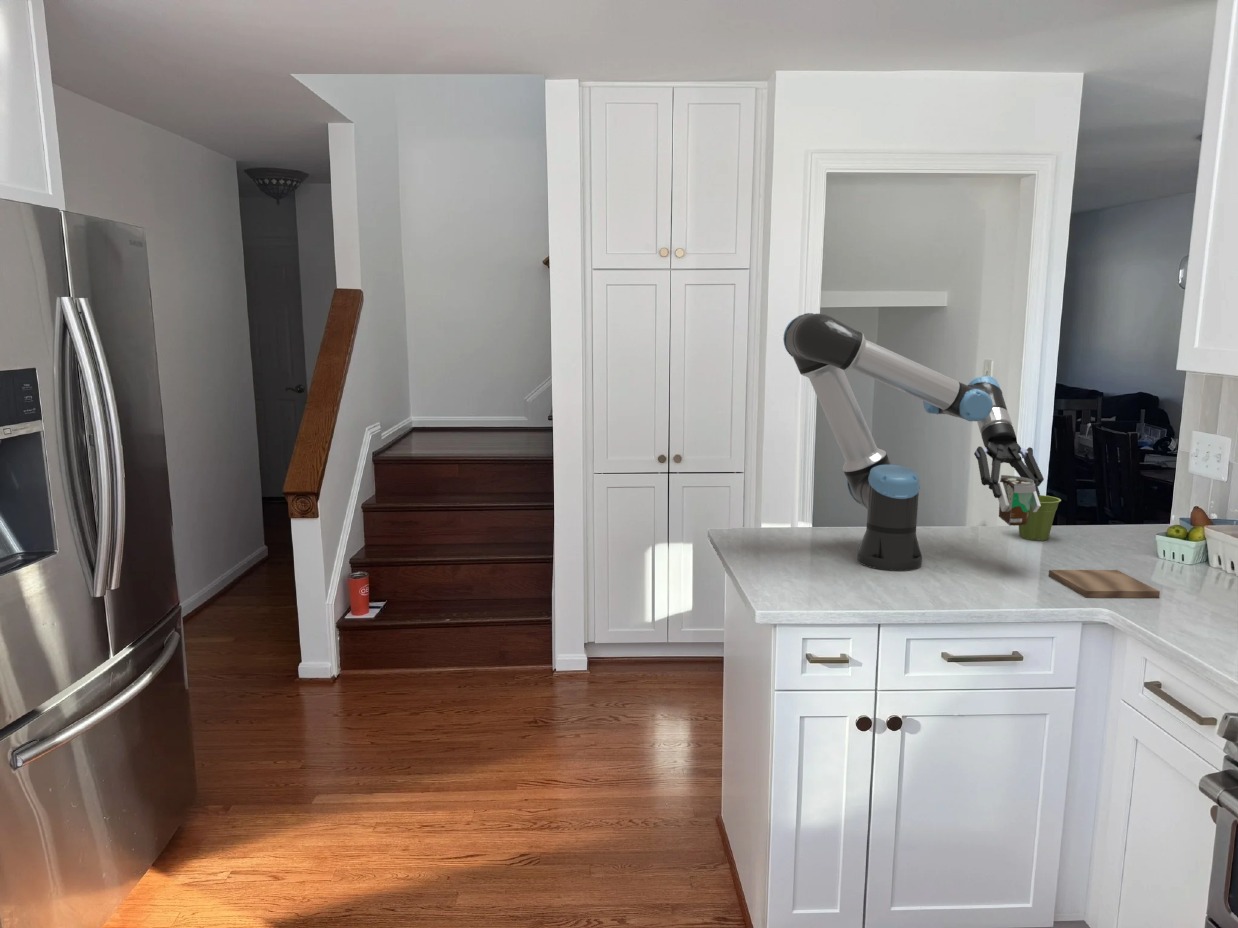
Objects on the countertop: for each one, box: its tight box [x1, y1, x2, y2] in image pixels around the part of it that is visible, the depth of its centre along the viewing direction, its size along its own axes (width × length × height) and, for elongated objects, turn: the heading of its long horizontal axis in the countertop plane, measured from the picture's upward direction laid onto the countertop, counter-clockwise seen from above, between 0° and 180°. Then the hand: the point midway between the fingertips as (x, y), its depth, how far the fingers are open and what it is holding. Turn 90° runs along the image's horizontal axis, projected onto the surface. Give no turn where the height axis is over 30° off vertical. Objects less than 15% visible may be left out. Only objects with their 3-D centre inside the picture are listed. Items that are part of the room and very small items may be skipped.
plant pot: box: [1018, 494, 1062, 541], centre depth 236 cm, size 12×12×11 cm
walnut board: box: [1048, 569, 1161, 599], centre depth 194 cm, size 16×16×2 cm
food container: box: [998, 474, 1036, 527], centre depth 202 cm, size 12×6×10 cm, turn 171°
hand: (1021, 508), depth 200 cm, fingers closed on food container, 7 cm apart
